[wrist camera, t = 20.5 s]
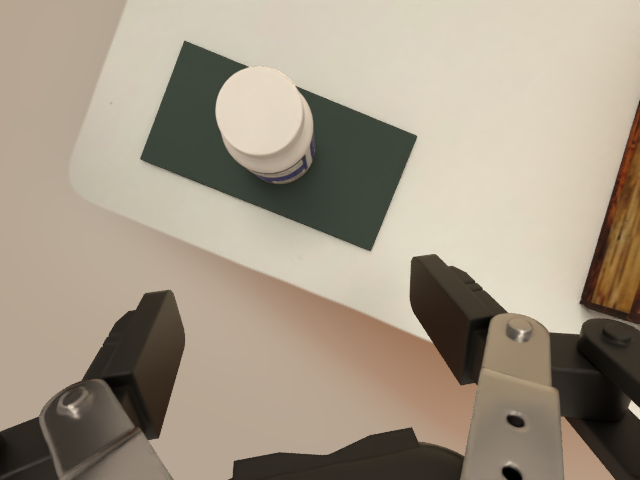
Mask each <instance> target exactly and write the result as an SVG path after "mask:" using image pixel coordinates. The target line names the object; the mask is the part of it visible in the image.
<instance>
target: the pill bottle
mask: <svg viewBox="0 0 640 480" xmlns="http://www.w3.org/2000/svg"><path fill="white" fill-rule="evenodd" d="M215 112H216V120H217V124H218V127H219V129H220V131H221V135H222V139H223V142H224V144H225V146H226V148H227V150H228V152H229V153H230V154H231V156H232V157H233V158H234V159H235V160H236V161H237V162H238V163H239V164H240V165H242V166H243V167H245V168H246V169H248V170H249V171H250V172H252V173H253V174H254V175H256V176H257V177H258V178H260V179H262V180H264V181H267V182H270V183H274V184H284V183H289V182H292V181H294V180H296V179H298V178H299V177H301V176H302V175H303V174H304V173H305V172H306V171H307V170H308V168H309V167H310V165H311V163H312V161H313V158H314V153H315V138H314V124H313V117H312V113H311V110H310V107H309V105H308V103H307V102H306V100H305V98H304V97H303V96H302V94H301V93H300V92H299V91H298V89H297V88H296V86H295V85H294V83H293V82H292V81H291V80H290V79H289V78H288V77H287V76H286V75H284V74H283V73H281V72H280V71H278V70H275V69H273V68H269V67H264V66H254V67H248V68H245V69H242V70H240V71H238V72H237V73H235V74H233V75H232V76H231V77H230V78H229V79H228V80H227V81H226V82H225V83H224V85H223V86H222V88H221V90H220V92H219V94H218V97H217V101H216V111H215Z"/></svg>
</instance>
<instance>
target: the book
mask: <svg viewBox="0 0 640 480" xmlns="http://www.w3.org/2000/svg"><path fill="white" fill-rule="evenodd" d="M580 303H581V304H584V305H585V306H586V308H588V309H591V310H594V311H597V312H601V313H604V314H607V315H610V316H613V317H617V318H620V319H623V320H626V321H629V322H633V323H636V324H640V102H639V106H638V109H637V112H636V116H635V119H634V123H633V126H632V129H631V133H630V136H629V139H628V143H627V146H626V149H625V153H624V156H623V160H622V163H621V166H620V170H619V173H618V176H617V180H616V183H615V186H614V190H613V193H612V197H611V200H610V203H609V207H608V210H607V213H606V217H605V220H604V223H603V227H602V230H601V234H600V237H599V240H598V244H597V247H596V250H595V254H594V257H593V260H592V264H591V267H590V271H589V274H588V277H587V281H586V284H585V287H584V291H583V294H582V301H580Z"/></svg>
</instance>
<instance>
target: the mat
mask: <svg viewBox="0 0 640 480" xmlns="http://www.w3.org/2000/svg"><path fill="white" fill-rule="evenodd" d="M245 68H248V66H245V65H243V64H240V63H238V62H235V61H233V60H230V59H228V58H226V57H223V56H221V55H218V54H216V53H213V52H211V51H208V50H206V49H204V48H201V47H199V46H196V45H194V44H191V43H189V42H186V41H184V43H183V46H182V49H181V51H180V54H179V57H178V59H177V62H176V65H175V67H174V70H173V73H172V75H171V78H170V81H169V83H168V86H167V89H166V91H165V94H164V97H163V99H162V102H161V105H160V107H159V110H158V113H157V115H156V118H155V121H154V123H153V126H152V129H151V131H150V134H149V137H148V139H147V142H146V145H145V147H144V150H143V153H142V155H141V158H140V159H141V160H144V161H146V162H149V163H151V164H154V165H156V166H159V167H161V168H164V169H166V170H169V171H171V172H174V173H177V174H179V175H182V176H184V177H187V178H189V179H192V180H194V181H197V182H199V183H202V184H204V185H207V186H209V187H212V188H214V189H217V190H219V191H222V192H224V193H227V194H229V195H232V196H234V197H237V198H239V199H242V200H244V201H247V202H249V203H252V204H254V205H257V206H259V207H262V208H264V209H267V210H269V211H272V212H274V213H277V214H279V215H282V216H284V217H287V218H289V219H292V220H294V221H297V222H299V223H302V224H305V225H307V226H310V227H312V228H315V229H317V230H320V231H322V232H325V233H327V234H330V235H332V236H335V237H337V238H340V239H342V240H345V241H347V242H350V243H352V244H355V245H357V246H360V247H362V248H365V249H367V250H370V251H371V249H372V247H373V244H374V242H375V239H376V237H377V234H378V232H379V229H380V227H381V224H382V222H383V219H384V217H385V215H386V212H387V210H388V207H389V205H390V202H391V200H392V197H393V195H394V192H395V190H396V187H397V185H398V182H399V180H400V178H401V175H402V173H403V170H404V168H405V165H406V163H407V160H408V158H409V155H410V153H411V150H412V148H413V145H414V143H415V141H416V138H417V136H416V135H414V134H411V133H409V132H406V131H404V130H401V129H399V128H396V127H394V126H392V125H389V124H387V123H384V122H382V121H379V120H377V119H374V118H372V117H370V116H367V115H365V114H362V113H360V112H357V111H355V110H353V109H350V108H348V107H345V106H343V105H340V104H338V103H335V102H333V101H331V100H328V99H326V98H323V97H321V96H318V95H316V94H313V93H311V92H309V91H306V90H304V89H301V88H299V87H296V88H297V89H298V91H299V92H300V93H301V94H302V96H303V97H304V98H305V100H306V102H307V103H308V105H309V107H310V110H311V113H312V117H313V124H314V138H315V153H314V158H313V161H312V163H311V165H310V167H309V168H308V170H307V171H306V172H305V173H304V174H303V175H302V176H301V177H299V178H298V179H296V180H294V181H292V182H289V183H284V184H274V183H270V182H267V181H264V180H262V179H260V178H258V177H257V176H256V175H254V174H253V173H252V172H250V171H249V170H248V169H246V168H245V167H243V166H242V165H240V164H239V163H238V162H237V161H236V160H235V159H234V158H233V157H232V156H231V154H230V153H229V152H228V150H227V148H226V146H225V144H224V142H223V139H222V135H221V131H220V129H219V127H218V124H217V120H216V112H215V111H216V101H217V97H218V94H219V92H220V90H221V88H222V86H223V85H224V83H225V82H226V81H227V80H228V79H229V78H230V77H231V76H232V75H233V74H235V73H237V72H238V71H240V70H242V69H245Z"/></svg>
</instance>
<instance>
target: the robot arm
mask: <svg viewBox="0 0 640 480" xmlns="http://www.w3.org/2000/svg"><path fill="white" fill-rule="evenodd" d="M410 303H411V307H412V310H413V312H414V314H415V315H416V317H417V319H418V320H419V322H420V323H421V325H422V326H423V328H424V329H425V331H426V332H427V334H428V336H429V337H430V339H431V340H432V342H433V343H434V345H435V346H436V348H437V349H438V351H439V353H440V354H441V356H442V357H443V359H444V360H445V362H446V363H447V365H448V367H449V368H450V370H451V371H452V373H453V374H454V376H455V377H456V379H457V380H458V382H459V383H460V385H465V384H471V383H476V384H477V386H478V387H477V392H476V397H475V403H474V409H473V413H472V419H471V424H470V430H469V435H468V441H467V446H466V452H465V456H463V455H461V454H459V453H457V452H455V451H453V450H450V449H448V448H445V447H441V446H439V445H435V444H430V443H425V442H418V441H417V438H416V436H415V433H414V431H413V429H412V428H406V429H401V430H395V431H390V432H385V433H380V434H374V435H370V436H367V437H365V438H363V439H361V440H359V441H357V442H355V443H353V444H351V445H348V446H346V447H344V448H342V449H340V450H338V451H336V452H334V453H331V454H329V455H311V454H296V453H280V452H279V453H274V454H268V455H263V456H258V457H253V458H247V459H242V460H237V461H234V466H233V478H231V479H229V480H564V468H563V450H562V432H561V416H564V417H565V418H566V419H567V421H568V422H569V423H570V424H571V426H572V427H573V428H574V429H575V430H576V432H577V433H578V434H579V435H580V437H581V438H582V439H583V440H584V441H585V443H586V444H587V445H588V446H589V448H590V449H591V450H592V451H593V453H594V454H595V455H596V456H597V457H598V458H599V460H600V461H601V462H602V464H603V465H604V466H605V467H606V469H607V470H608V471H609V472H610V473H611V475H612V476H613V477H614V478H615V480H640V420H639V419H638V418H637V417H636V416H635V415H634V414H633V413H632V412H631V411H630V410H629V409H628V407H629V404H630V402H631V400H632V401H633V402H634V403H635V404H636V405H637V406H638V407H639V408H640V331H639V330H637V329H635V328H633V327H631V326H629V325H627V324H624V323H621V322H618V321H614V320H610V319H590V320H587V321H586V322H584V323H583V325H582V328H581V332H580V335H578V334H563V333H550V332H548V330H547V329H546V328H545V327H544V326H543V325H542V324H541V323H539V322H538V321H536V320H534V319H532V318H530V317H527V316H524V315H520V314H515V313H508V312H507V311H506V310H505V309H504V308H503V307H501V306H500V305H499V304H498V303H497V302H496V301H495V300H494V299H493V298H492V297H491V296H490V295H489V294H488V293H487V292H486V291H485V290H483V288H482V287H481V286H480V285H479V284H477V283H475V281H474V280H473V279H472V278H471V277H470V276H469V275H468V274H467V273H466V272H464V271H462V270H460V269H458V268H456V267H454V266H447V265H446V264H445V263H444V262H443V261H442V260H441V259H440V258H439V257H438V256H437V255H436V254H431V255H424V256H417V257H413V258H412V261H411V277H410ZM184 346H185V333H184V328H183V325H182V321H181V317H180V314H179V310H178V307H177V304H176V300H175V297H174V294H173V292H172V291H171V290H165V291H157V292H151V293H145V294H144V296H143V298H142V299H141V301H140V303H139V305H138V307H137V309H136V310H133V311H128V312H127V313H126V314H125V315H124V316H123V317H121V318H120V319H119V320H118V321H117V322H116V323H115V325H114V327H113V328H112V330H111V331H110V333H109V337H107V338H106V340H105V342H104V343H103V347H101V348H100V350H99V352H98V353H97V355H96V357H95V359H94V360H93V362H92V364H91V365H90V367H89V369H88V370H87V372H86V374H85V376H84V377H83V379H82V381H80V382H77V383H75V384H72V385H70V386H68V387H66V388H65V389H63V390H62V391H60V392H59V393H57V394H56V395H55V396H54V397H52V398H51V399H50V400H49V401H48V402H47V403H46V405H45V406H44V407H43V409H42V411H41V413H40V415H39V417H37V418H34V419H32V420H29V421H27V422H24V423H21V424H19V425H16V426H14V427H11V428H8V429H6V430H3V431H1V432H0V480H173V478H172V477H171V475H170V474H169V472H168V470H167V469H166V467H165V466H164V464H163V463H162V461H161V460H160V458H159V457H158V455H157V453H156V452H155V451H154V449H153V447H152V446H151V444H150V443H149V441H148V440H152V439H157V438H159V435H160V432H161V429H162V425H163V421H164V417H165V414H166V411H167V407H168V404H169V400H170V396H171V393H172V389H173V386H174V382H175V379H176V375H177V372H178V368H179V365H180V361H181V357H182V354H183V351H184Z"/></svg>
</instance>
